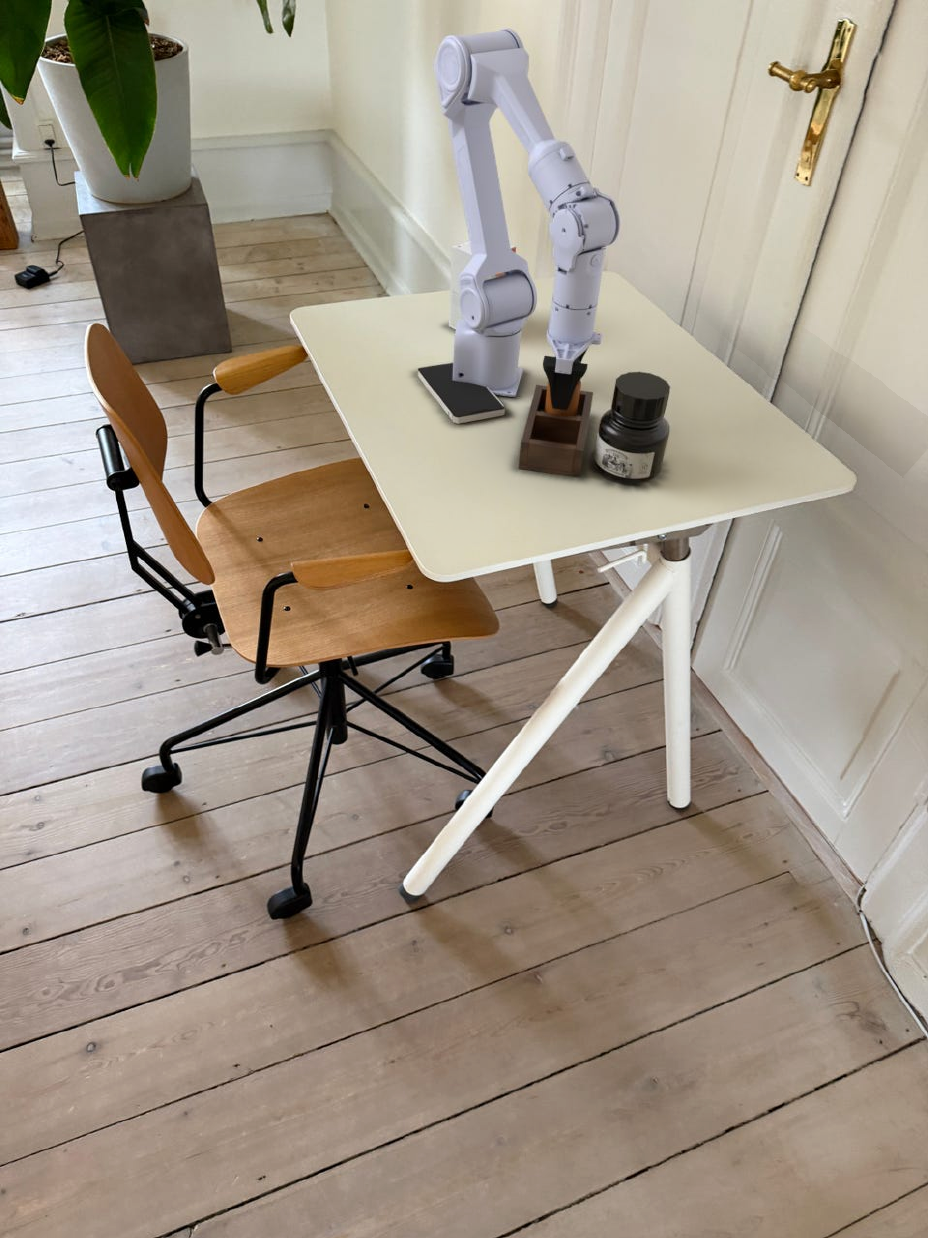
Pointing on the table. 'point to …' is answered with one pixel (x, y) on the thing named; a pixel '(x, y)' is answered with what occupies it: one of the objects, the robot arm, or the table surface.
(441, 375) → the smartphone
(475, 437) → the table surface
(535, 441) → the holder
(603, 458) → the ink bottle
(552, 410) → the spice bottle
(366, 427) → the table surface
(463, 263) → the small box
